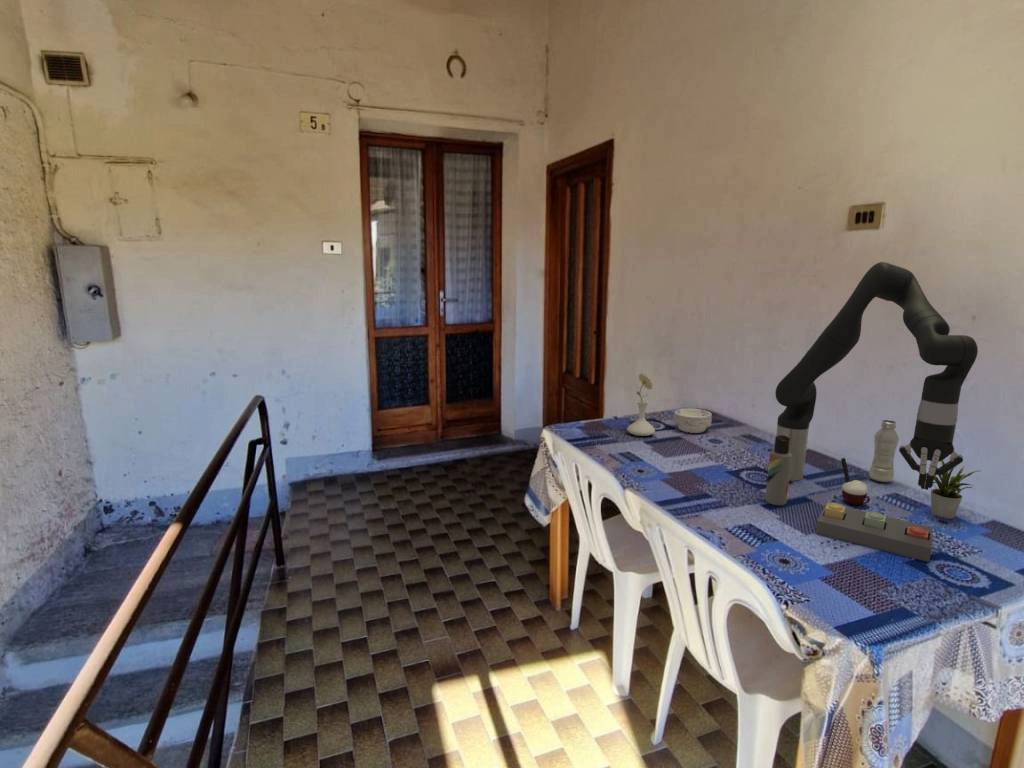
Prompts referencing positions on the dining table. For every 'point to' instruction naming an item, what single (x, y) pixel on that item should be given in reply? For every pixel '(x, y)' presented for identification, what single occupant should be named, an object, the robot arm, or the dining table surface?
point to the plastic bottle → (884, 452)
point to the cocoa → (853, 489)
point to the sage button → (875, 520)
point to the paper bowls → (692, 420)
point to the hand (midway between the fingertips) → (924, 488)
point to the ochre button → (835, 511)
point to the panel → (877, 534)
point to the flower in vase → (642, 412)
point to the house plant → (947, 494)
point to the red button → (917, 532)
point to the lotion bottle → (779, 472)
